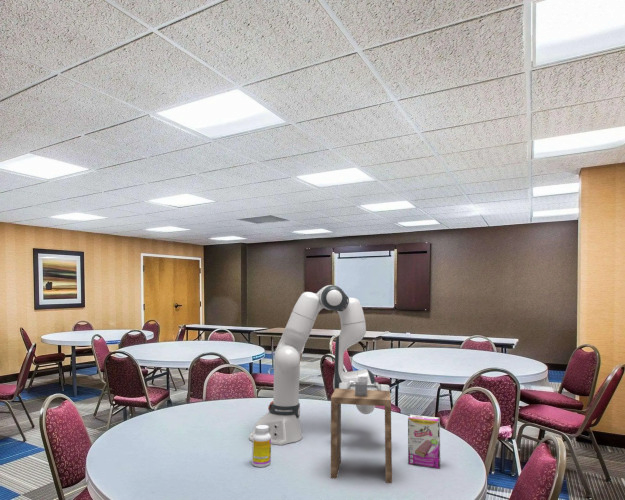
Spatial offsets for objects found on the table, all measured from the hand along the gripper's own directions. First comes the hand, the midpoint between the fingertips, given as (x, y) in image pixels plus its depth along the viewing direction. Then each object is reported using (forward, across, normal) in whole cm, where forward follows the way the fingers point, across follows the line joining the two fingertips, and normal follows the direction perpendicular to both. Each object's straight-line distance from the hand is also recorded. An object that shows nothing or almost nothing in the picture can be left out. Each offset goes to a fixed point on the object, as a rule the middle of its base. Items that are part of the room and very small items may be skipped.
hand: (363, 383), depth 158 cm
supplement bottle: (-1, -36, +31) cm, 47 cm away
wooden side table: (-1, 0, +30) cm, 31 cm away
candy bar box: (-10, +22, +25) cm, 35 cm away
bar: (+7, 0, +5) cm, 9 cm away
